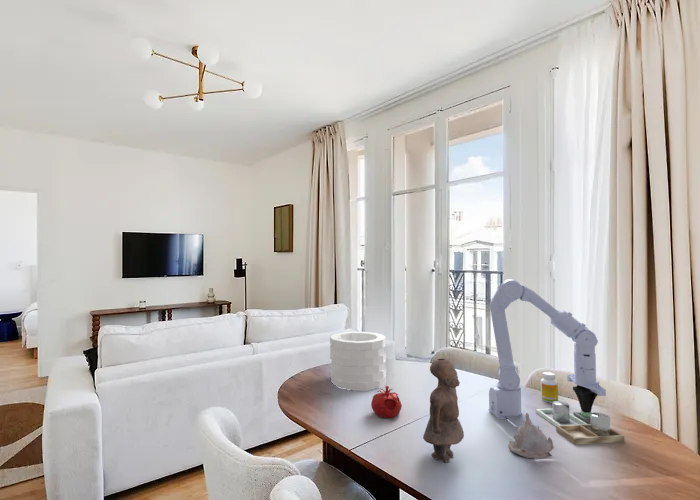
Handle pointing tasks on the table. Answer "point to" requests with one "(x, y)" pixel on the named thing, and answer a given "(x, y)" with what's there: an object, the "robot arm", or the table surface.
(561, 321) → the robot arm
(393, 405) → the pomegranate
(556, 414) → the billet
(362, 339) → the basket
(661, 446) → the table surface
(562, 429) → the divided tray
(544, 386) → the supplement bottle
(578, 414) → the frame
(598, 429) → the cylinder
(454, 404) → the clay figurine
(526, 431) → the seashell
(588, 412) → the button
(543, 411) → the pale green tray
